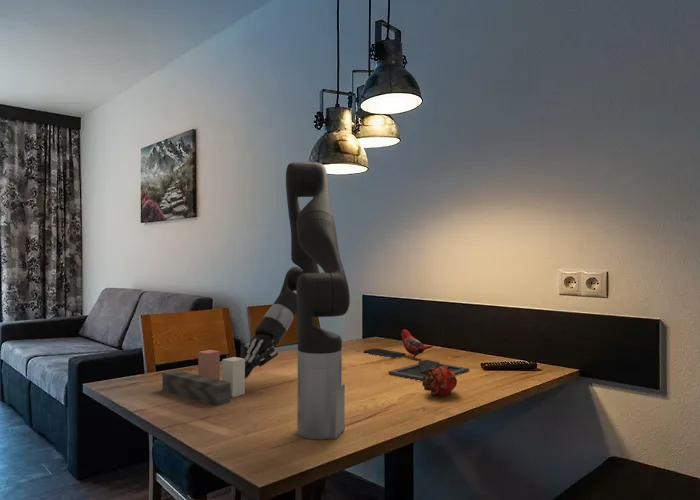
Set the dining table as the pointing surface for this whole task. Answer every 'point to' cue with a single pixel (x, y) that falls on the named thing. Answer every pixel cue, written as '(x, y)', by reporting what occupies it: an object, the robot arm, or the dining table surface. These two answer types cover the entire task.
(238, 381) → the cream key
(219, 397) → the switch board
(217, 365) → the brick key
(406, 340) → the decorative bird figurine
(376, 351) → the phone
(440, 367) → the dragon fruit
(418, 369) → the picture frame
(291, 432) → the dining table surface
